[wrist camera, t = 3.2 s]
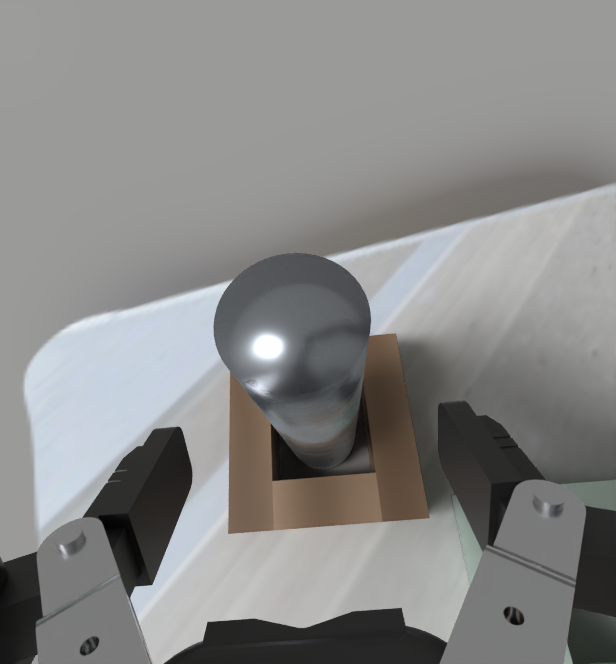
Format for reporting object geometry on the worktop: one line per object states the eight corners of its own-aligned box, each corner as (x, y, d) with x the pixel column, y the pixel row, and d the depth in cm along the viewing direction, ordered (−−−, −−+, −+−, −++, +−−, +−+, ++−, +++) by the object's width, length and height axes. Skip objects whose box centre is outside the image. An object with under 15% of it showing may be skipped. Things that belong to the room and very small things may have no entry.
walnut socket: (390, 352, 26) (395, 333, 24) (419, 517, 22) (429, 518, 20) (242, 366, 27) (230, 349, 24) (242, 531, 23) (228, 533, 20)
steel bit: (350, 400, 25) (360, 245, 11) (358, 466, 24) (382, 386, 9) (288, 406, 26) (215, 261, 11) (291, 471, 24) (211, 402, 9)
